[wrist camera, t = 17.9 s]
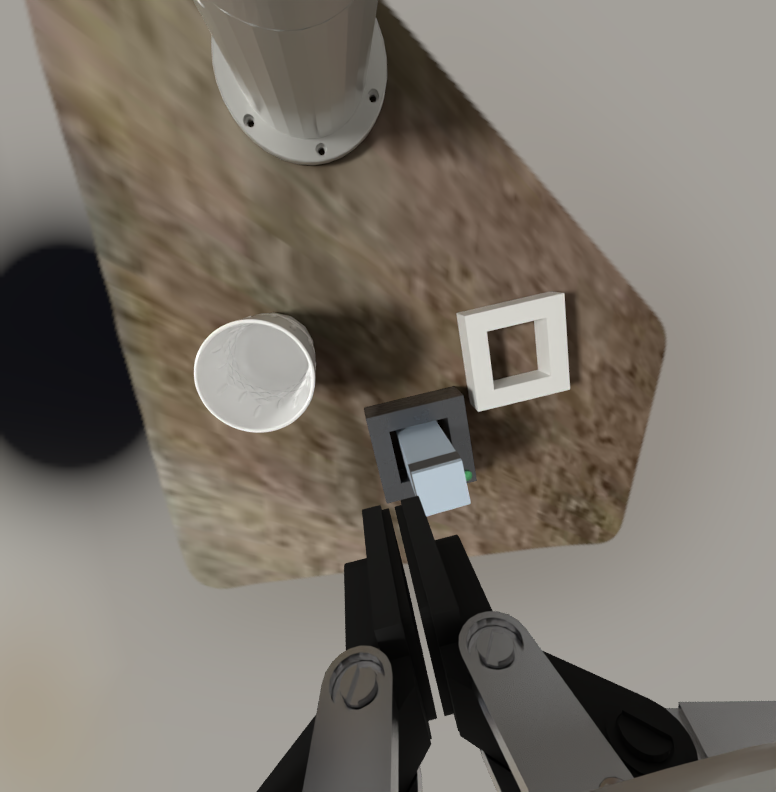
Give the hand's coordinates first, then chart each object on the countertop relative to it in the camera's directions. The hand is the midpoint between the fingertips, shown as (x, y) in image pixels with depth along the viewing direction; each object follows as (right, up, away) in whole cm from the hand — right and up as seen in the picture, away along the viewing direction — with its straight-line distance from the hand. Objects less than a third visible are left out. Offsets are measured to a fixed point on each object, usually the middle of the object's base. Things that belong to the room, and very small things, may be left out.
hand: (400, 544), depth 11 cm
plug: (+3, 0, +29) cm, 29 cm away
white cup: (-10, +9, +25) cm, 28 cm away
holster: (+11, +9, +27) cm, 31 cm away
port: (+3, 0, +29) cm, 29 cm away
